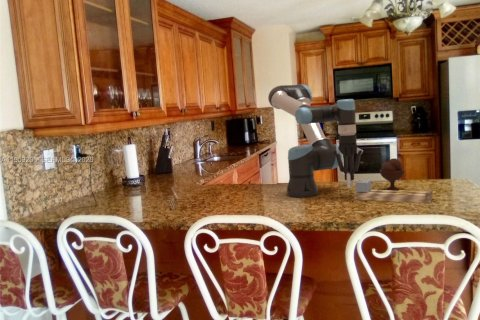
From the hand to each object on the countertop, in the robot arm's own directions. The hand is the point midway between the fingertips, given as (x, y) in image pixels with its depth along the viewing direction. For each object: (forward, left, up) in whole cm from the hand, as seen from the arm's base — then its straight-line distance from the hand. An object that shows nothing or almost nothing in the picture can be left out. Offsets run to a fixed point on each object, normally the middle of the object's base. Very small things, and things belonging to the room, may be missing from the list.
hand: (349, 187), depth 183 cm
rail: (+18, 0, -5) cm, 19 cm away
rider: (+6, 0, -3) cm, 7 cm away
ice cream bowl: (+14, +20, -5) cm, 25 cm away
